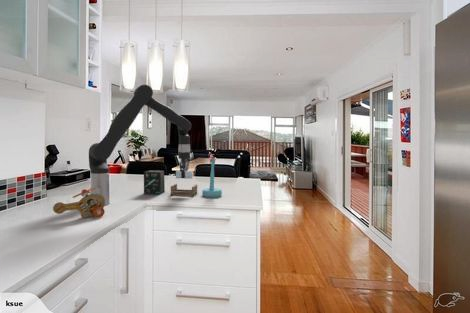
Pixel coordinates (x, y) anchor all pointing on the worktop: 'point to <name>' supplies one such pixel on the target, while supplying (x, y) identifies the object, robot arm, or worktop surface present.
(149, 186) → the tampon box
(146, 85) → the robot arm
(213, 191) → the blue towel holder stand
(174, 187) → the roll cradle
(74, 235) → the worktop surface
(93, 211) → the toy helicopter
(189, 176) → the paper roll
